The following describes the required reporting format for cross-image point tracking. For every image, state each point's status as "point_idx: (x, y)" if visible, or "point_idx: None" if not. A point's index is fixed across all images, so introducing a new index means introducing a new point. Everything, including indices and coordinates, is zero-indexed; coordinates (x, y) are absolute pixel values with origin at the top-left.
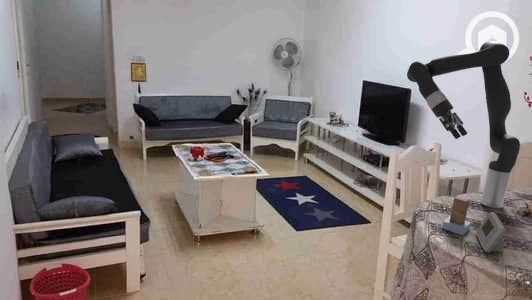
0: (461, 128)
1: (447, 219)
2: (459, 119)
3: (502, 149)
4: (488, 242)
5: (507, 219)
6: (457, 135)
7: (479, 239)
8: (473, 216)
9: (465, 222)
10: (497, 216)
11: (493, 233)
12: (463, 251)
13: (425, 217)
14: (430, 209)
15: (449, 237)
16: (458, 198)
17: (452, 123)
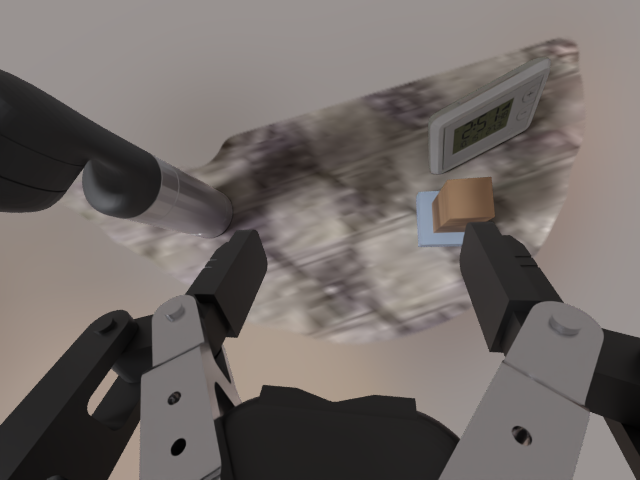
0: (229, 294)
1: (456, 240)
2: (72, 392)
3: (82, 137)
4: (533, 112)
5: (276, 160)
6: (519, 245)
7: (478, 153)
8: (323, 218)
9: (432, 200)
10: (465, 99)
11: (535, 93)
12: (566, 161)
13: (441, 303)
14: (371, 314)
15: (515, 212)
16: (484, 205)
17: (581, 404)
